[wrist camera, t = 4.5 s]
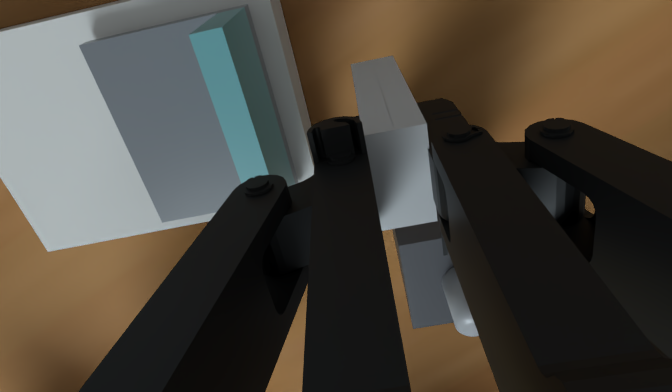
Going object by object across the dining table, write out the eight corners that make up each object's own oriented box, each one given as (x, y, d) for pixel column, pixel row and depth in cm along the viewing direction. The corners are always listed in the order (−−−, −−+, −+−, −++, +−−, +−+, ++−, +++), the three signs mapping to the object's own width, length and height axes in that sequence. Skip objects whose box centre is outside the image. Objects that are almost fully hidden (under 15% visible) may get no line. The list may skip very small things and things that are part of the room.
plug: (454, 126, 24) (539, 262, 14) (460, 194, 25) (539, 353, 16) (375, 142, 24) (406, 284, 14) (387, 208, 26) (422, 371, 16)
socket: (270, -36, 20) (261, -31, 17) (322, 171, 25) (322, 199, 22) (-30, 36, 21) (-81, 50, 18) (76, 219, 26) (47, 251, 23)
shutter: (247, 3, 17) (221, 27, 13) (300, 187, 21) (292, 250, 17) (88, 40, 18) (15, 74, 14) (167, 213, 22) (129, 279, 18)
